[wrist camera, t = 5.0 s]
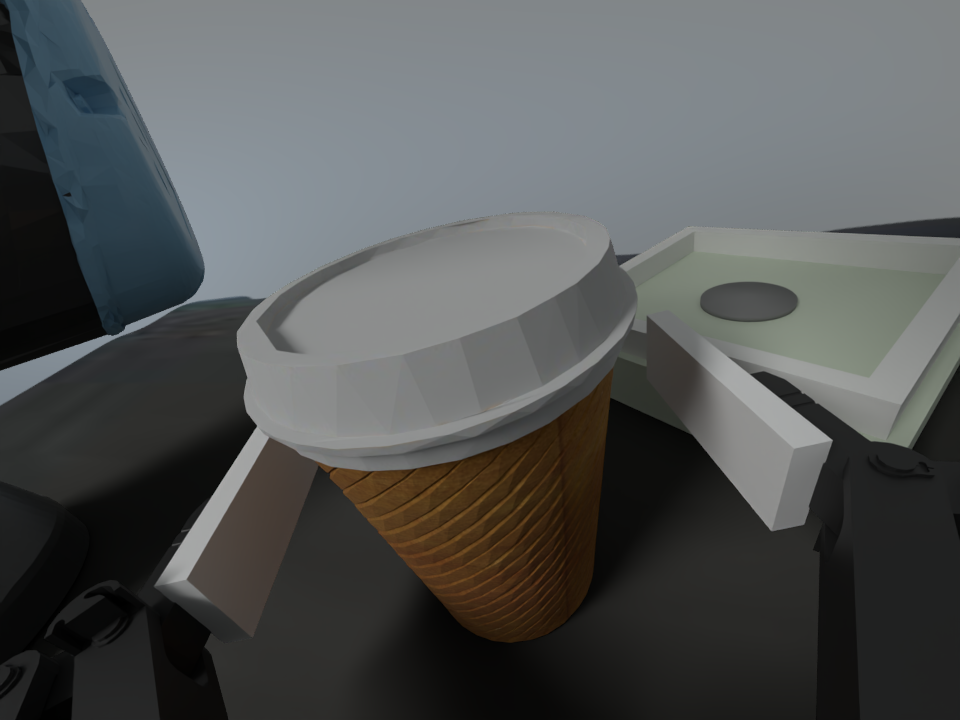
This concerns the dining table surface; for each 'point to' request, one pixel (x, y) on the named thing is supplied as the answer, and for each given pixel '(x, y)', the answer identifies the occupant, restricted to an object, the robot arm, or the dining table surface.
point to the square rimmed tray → (809, 318)
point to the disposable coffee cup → (459, 402)
